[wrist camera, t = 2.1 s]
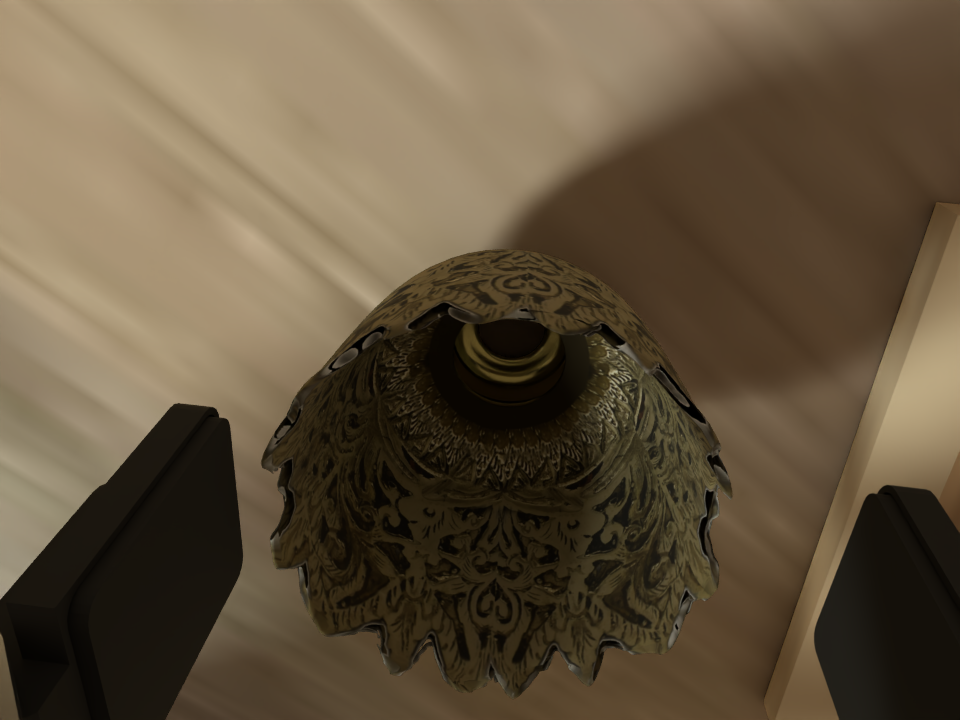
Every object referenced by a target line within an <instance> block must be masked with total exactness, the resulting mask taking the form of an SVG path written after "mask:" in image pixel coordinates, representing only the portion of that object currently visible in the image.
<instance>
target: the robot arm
mask: <svg viewBox="0 0 960 720" xmlns="http://www.w3.org/2000/svg"><path fill="white" fill-rule="evenodd" d="M242 561H243V549H242V539H241V530H240V520H239V510H238V500H237V490H236V480H235V470H234V461H233V451H232V441H231V431H230V424H229V422H228V420H227V419H226V418H219V414H218V412H217V410H216V409H215V408H213V407H206V406H197V405H189V404H180V403H178V404H174V405H173V406H172V407H171V408H170V409H169V410H168V411H167V412H166V413H165V415H164V416H163V417H162V418H161V419H160V420H159V422H158V423H157V424H156V425H155V426H154V428H153V429H152V430H151V431H150V432H149V433H148V435H147V436H146V437H145V438H144V439H143V440H142V442H141V443H140V444H139V445H138V446H137V448H136V449H135V450H134V451H133V452H132V453H131V455H130V456H129V457H128V458H127V459H126V461H125V462H124V463H123V464H122V465H121V466H120V468H119V469H118V470H117V471H116V472H115V473H114V475H113V476H112V477H111V478H110V479H109V481H108V482H107V483H106V484H104V485H101V486H99V487H98V488H97V489H96V490H95V491H94V492H93V493H92V494H91V495H90V496H89V497H88V498H87V500H86V501H85V502H84V503H83V504H82V505H81V507H80V508H79V509H78V510H77V511H76V512H75V514H74V515H73V516H72V517H71V518H70V519H69V521H68V522H67V523H66V524H65V525H64V526H63V528H62V529H61V530H60V531H59V532H58V533H57V535H56V536H55V537H54V538H53V539H52V540H51V542H50V543H49V544H48V545H47V546H46V547H45V549H44V550H43V551H42V552H41V553H40V554H39V555H38V557H37V558H36V559H35V560H34V561H33V562H32V564H31V565H30V566H29V567H28V568H27V569H26V571H25V572H24V573H23V574H22V575H21V576H20V578H19V579H18V580H17V581H16V582H15V583H14V585H13V586H12V587H11V588H10V589H9V590H8V592H7V593H6V594H5V595H4V596H3V597H2V599H1V600H0V720H165V719H166V717H167V715H168V713H169V711H170V709H171V707H172V705H173V703H174V701H175V699H176V697H177V696H178V694H179V692H180V690H181V688H182V686H183V684H184V682H185V680H186V678H187V676H188V674H189V672H190V670H191V668H192V666H193V665H194V663H195V661H196V659H197V657H198V655H199V653H200V651H201V649H202V647H203V645H204V643H205V641H206V639H207V637H208V636H209V634H210V632H211V630H212V628H213V626H214V624H215V622H216V620H217V618H218V616H219V614H220V612H221V610H222V608H223V607H224V605H225V603H226V601H227V599H228V597H229V595H230V593H231V591H232V589H233V587H234V585H235V583H236V581H237V579H238V577H239V575H240V571H241V567H242ZM814 646H815V651H816V654H817V657H818V660H819V663H820V666H821V669H822V672H823V675H824V677H825V680H826V683H827V686H828V689H829V692H830V695H831V698H832V700H833V703H834V706H835V709H836V712H837V715H838V718H839V720H960V533H959V531H958V530H957V528H956V527H955V525H954V524H953V522H952V521H951V519H950V517H949V516H948V514H947V513H946V511H945V510H944V508H943V507H942V505H941V504H940V502H939V501H938V499H937V498H936V496H935V495H934V494H933V493H932V492H931V491H930V490H927V489H920V488H912V487H903V486H894V485H885V486H883V487H882V488H881V489H880V490H879V491H878V493H877V494H875V493H871V494H868V495H867V496H866V498H865V500H864V502H863V504H862V507H861V510H860V512H859V515H858V517H857V520H856V522H855V525H854V528H853V530H852V533H851V535H850V538H849V540H848V543H847V546H846V548H845V551H844V553H843V556H842V558H841V561H840V564H839V566H838V569H837V571H836V574H835V576H834V579H833V582H832V584H831V587H830V589H829V592H828V595H827V597H826V600H825V602H824V605H823V607H822V610H821V613H820V615H819V618H818V620H817V623H816V626H815V631H814Z"/></svg>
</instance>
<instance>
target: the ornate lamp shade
mask: <svg viewBox="0 0 960 720" xmlns="http://www.w3.org/2000/svg"><path fill="white" fill-rule="evenodd" d="M499 319H518V320H527V321H534V322H538V323H541V324H542V325H543V326H544V327H545V333H544V337H543V340H542V342H541V343H540V345H539V346H538V347H537V348H536V349H535V350H534V351H533V352H531V353H530V354H528V355H525V356H522V357H517V358H508V357H503V356H500V355H497V354H495V353H493V352H492V351H490V350H489V349H488V348H487V347H486V346H485V344H484V343H483V341H482V340H481V337H480V334H479V324H484V323H489V322H493V321H496V320H499ZM720 450H721V446H720V443H719V441H718V439H717V437H716V435H715V433H714V431H713V429H712V428H711V426H710V424H709V423H708V421H707V420H706V419H705V417H704V416H703V415H702V413H701V412H700V411H699V410H698V409H697V408H696V406H695V405H694V403H693V402H692V400H691V398H690V396H689V394H688V392H687V391H686V389H685V387H684V385H683V384H682V382H681V380H680V378H679V377H678V375H677V373H676V371H675V370H674V368H673V366H672V365H671V363H670V361H669V360H668V358H667V357H666V355H665V353H664V352H663V350H662V349H661V347H660V345H659V344H658V342H657V341H656V339H655V338H654V337H653V335H652V334H651V332H650V331H649V330H648V328H647V327H646V325H645V324H644V323H643V321H642V320H641V319H640V317H639V316H638V315H637V314H636V313H635V312H634V311H633V309H632V308H631V307H630V306H629V305H628V304H627V303H626V302H625V301H624V300H623V299H622V298H621V297H620V296H619V295H618V294H617V293H616V292H615V291H613V290H612V289H611V288H610V287H609V286H608V285H606V284H605V283H603V282H602V281H600V280H599V279H597V278H596V277H594V276H593V275H591V274H590V273H588V272H587V271H585V270H583V269H581V268H579V267H577V266H575V265H573V264H571V263H569V262H566V261H564V260H561V259H559V258H556V257H553V256H549V255H545V254H541V253H537V252H530V251H524V250H509V249H499V250H485V251H479V252H473V253H468V254H464V255H461V256H457V257H454V258H451V259H448V260H446V261H444V262H441V263H439V264H436V265H434V266H432V267H430V268H428V269H426V270H424V271H422V272H421V273H419V274H417V275H415V276H414V277H412V278H411V279H409V280H408V281H407V282H405V283H404V284H403V285H401V286H400V287H398V288H397V289H396V290H395V291H393V292H392V293H391V294H390V295H389V296H388V297H387V298H385V299H384V300H383V301H382V302H381V303H380V304H379V305H378V306H377V307H376V308H375V309H374V310H373V311H372V312H371V313H370V314H369V315H368V316H367V317H366V318H365V319H364V320H363V321H362V323H361V324H360V325H359V326H358V327H357V328H356V329H355V330H354V331H353V333H352V334H351V335H350V336H349V337H348V338H347V339H346V341H345V342H344V343H343V344H342V345H341V346H340V348H339V349H338V350H337V351H336V352H335V353H334V355H333V356H332V357H331V358H330V359H329V361H328V362H327V363H326V364H325V365H324V367H323V368H322V369H321V370H320V371H319V372H317V373H316V374H315V375H314V376H313V377H312V378H310V379H309V380H308V381H307V382H306V383H305V384H304V385H303V387H302V388H301V389H300V391H299V392H298V393H297V395H296V396H295V398H294V400H293V402H292V404H291V407H290V410H289V411H288V413H287V416H286V418H285V419H284V420H283V421H282V423H281V424H280V425H279V427H278V428H277V430H276V431H275V433H274V435H273V436H272V438H271V440H270V442H269V444H268V446H267V448H266V450H265V452H264V454H263V457H262V460H261V465H262V468H263V469H267V470H269V471H270V472H272V473H273V471H277V470H278V468H281V473H280V476H279V480H278V484H277V486H278V491H279V492H281V493H282V494H283V499H284V511H283V514H282V517H281V519H280V522H279V524H278V526H277V528H276V529H275V531H274V532H273V533H272V535H271V538H270V543H271V551H272V557H273V563H274V565H275V567H276V569H279V570H286V569H294V568H298V573H299V581H300V582H299V585H300V593H301V596H302V599H303V602H304V604H305V606H306V608H307V610H308V612H309V615H310V616H311V618H312V620H313V621H314V623H315V624H316V626H317V628H318V630H319V632H321V633H322V634H323V635H324V636H327V637H338V636H346V635H353V634H356V633H358V632H365V631H366V632H372V633H378V631H379V632H380V636H379V635H378V634H377V635H378V637H377V638H380V637H381V648H380V646H379V645H378V644H377V646H378V648H379V650H380V653H381V655H382V657H383V662H384V664H385V665H386V666H387V668H388V669H389V671H390V674H392V675H395V676H401V675H402V674H403V673H404V672H405V671H407V670H409V669H411V668H412V665H413V664H415V663H416V662H417V661H418V660H419V656H420V655H421V654H422V653H423V652H424V651H425V650H426V649H427V647H428V646H433V650H434V655H435V659H436V661H437V664H438V667H439V669H440V671H441V674H442V677H443V679H444V680H445V681H446V682H447V683H448V684H449V685H450V686H451V687H453V688H454V689H455V690H457V691H459V692H464V693H465V692H472V691H473V690H475V689H477V688H481V687H485V686H486V684H487V682H488V681H490V680H491V679H492V678H493V677H494V680H495V682H499V683H500V685H501V686H502V688H503V689H504V691H505V692H506V694H507V695H508V696H509V697H510V698H511V699H515V698H516V697H518V696H519V695H520V694H521V693H522V692H523V691H524V690H525V689H526V688H527V687H529V685H530V684H531V683H532V681H533V680H534V679H535V677H536V676H537V675H538V673H539V672H540V671H544V670H547V668H548V667H549V665H550V663H551V660H552V658H553V656H552V655H553V654H554V652H555V651H559V652H560V654H561V656H562V657H563V658H564V660H565V661H566V663H567V665H568V668H569V670H571V671H572V672H573V673H574V674H575V675H576V676H577V677H578V678H579V679H580V681H581V682H582V683H583V684H585V685H587V686H591V685H592V683H593V682H594V681H595V679H596V677H597V674H598V672H599V669H600V666H601V663H602V660H603V655H604V651H605V650H606V648H614V647H615V648H618V649H621V650H622V651H628V652H629V653H631V654H633V655H635V654H644V653H655V654H660V655H663V654H664V653H666V652H667V651H669V650H670V649H671V648H672V646H673V645H674V643H675V641H676V639H677V637H678V635H679V632H680V630H681V627H682V624H683V621H684V618H685V616H686V614H688V613H689V611H690V608H691V605H692V603H693V600H694V601H696V600H699V599H702V600H704V601H706V600H708V599H709V598H710V597H711V596H712V595H713V594H714V592H715V591H716V590H717V588H718V583H719V565H718V561H717V560H716V558H715V556H714V553H713V549H712V544H711V540H710V536H709V532H710V528H711V524H712V520H713V519H714V518H716V517H718V516H719V502H718V498H717V495H718V492H717V490H718V488H720V489H721V491H722V492H723V493H724V494H725V495H726V496H727V497H728V498H729V499H730V500H731V499H732V488H731V483H730V480H729V476H728V474H727V471H726V469H725V466H724V465H723V463H722V460H721V459H720V457H719V452H720ZM377 630H378V631H377ZM426 639H430V640H431V641H432V642H428V643H426V644H425V645H424V646H423V648H422V649H421V650H420V651H419V652H418V650H419V648H420V647H421V646H422V645H423V644H424V642H425V641H426ZM621 646H622V647H623V648H622V647H621ZM417 652H418V653H417ZM416 654H417V655H416Z"/></svg>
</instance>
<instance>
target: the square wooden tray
mask: <svg viewBox="0 0 960 720" xmlns="http://www.w3.org/2000/svg"><path fill="white" fill-rule="evenodd" d="M885 485H894V486H903V487H912V488H920V489H927V490H930V491H931V492H932V493H933V494H934V495H935V496H936V498H937V499H938V501H939V502H940V504H941V505H942V507H943V508H944V510H945V511H946V513H947V514H948V516H949V517H950V519H951V521H952V522H953V524H954V525H955V527H956V528H957V530H958V531H959V533H960V204H951V203H940V202H936V205H935V207H934V210H933V213H932V216H931V219H930V222H929V225H928V228H927V231H926V233H925V236H924V239H923V242H922V245H921V248H920V251H919V254H918V257H917V259H916V262H915V265H914V268H913V271H912V274H911V277H910V280H909V283H908V285H907V288H906V291H905V294H904V297H903V300H902V303H901V306H900V309H899V311H898V314H897V317H896V320H895V323H894V326H893V329H892V332H891V334H890V337H889V340H888V343H887V346H886V349H885V352H884V355H883V358H882V360H881V363H880V366H879V369H878V372H877V375H876V378H875V381H874V384H873V386H872V389H871V392H870V395H869V398H868V401H867V404H866V407H865V410H864V412H863V415H862V418H861V421H860V424H859V427H858V430H857V433H856V436H855V438H854V441H853V444H852V447H851V450H850V453H849V456H848V459H847V461H846V464H845V467H844V470H843V473H842V476H841V479H840V482H839V485H838V487H837V490H836V493H835V496H834V499H833V502H832V505H831V508H830V511H829V513H828V516H827V519H826V522H825V525H824V528H823V531H822V534H821V537H820V539H819V542H818V545H817V548H816V551H815V554H814V557H813V560H812V563H811V565H810V568H809V571H808V574H807V577H806V580H805V583H804V586H803V588H802V591H801V594H800V597H799V600H798V603H797V606H796V609H795V612H794V614H793V617H792V620H791V623H790V626H789V629H788V632H787V635H786V638H785V640H784V643H783V646H782V649H781V652H780V655H779V658H778V661H777V664H776V666H775V669H774V672H773V675H772V678H771V681H770V684H769V687H768V690H767V692H766V695H765V698H764V701H763V703H764V706H765V709H766V713H767V716H768V720H839V718H838V715H837V712H836V709H835V706H834V703H833V700H832V698H831V695H830V692H829V689H828V686H827V683H826V680H825V677H824V675H823V672H822V669H821V666H820V663H819V660H818V657H817V654H816V651H815V646H814V631H815V626H816V623H817V620H818V618H819V615H820V613H821V610H822V607H823V605H824V602H825V600H826V597H827V595H828V592H829V589H830V587H831V584H832V582H833V579H834V576H835V574H836V571H837V569H838V566H839V564H840V561H841V558H842V556H843V553H844V551H845V548H846V546H847V543H848V540H849V538H850V535H851V533H852V530H853V528H854V525H855V522H856V520H857V517H858V515H859V512H860V510H861V507H862V504H863V502H864V500H865V498H866V496H867V495H868V494H871V493H875V494H877V493H878V491H879V490H880V489H881V488H882V487H883V486H885Z"/></svg>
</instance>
